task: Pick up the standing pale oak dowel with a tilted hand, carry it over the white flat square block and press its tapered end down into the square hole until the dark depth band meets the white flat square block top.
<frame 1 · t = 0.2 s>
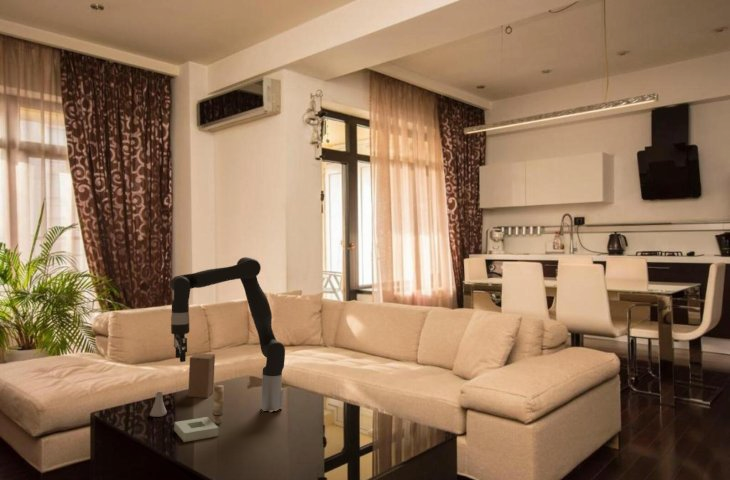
hand: (180, 359, 236), 28 cm above the table, tool pointing down, fingers open, 8 cm apart
wooden block: (200, 395, 278), on the table
flask: (158, 415, 247), on the table
white flat square block: (196, 433, 227), on the table
peg: (217, 422, 241), on the table
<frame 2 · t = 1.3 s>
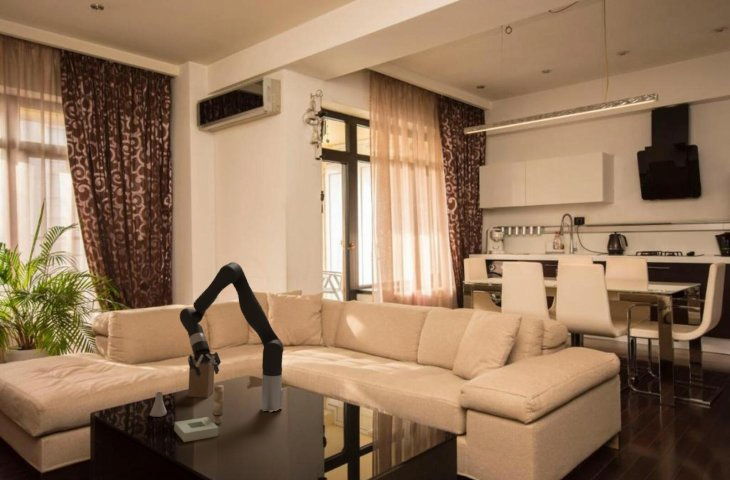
hand: (208, 374, 249), 19 cm above the table, tool tilted 45°, fingers open, 8 cm apart
nothing on the table moved.
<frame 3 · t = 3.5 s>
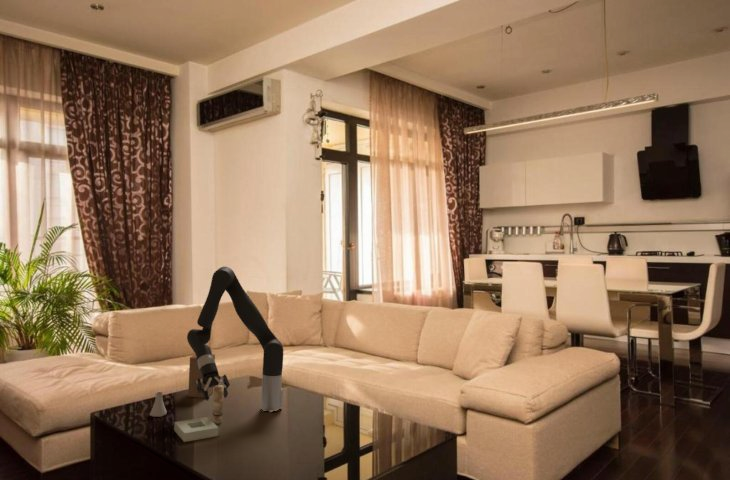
hand: (217, 398, 242), 10 cm above the table, tool tilted 45°, fingers open, 8 cm apart
nothing on the table moved.
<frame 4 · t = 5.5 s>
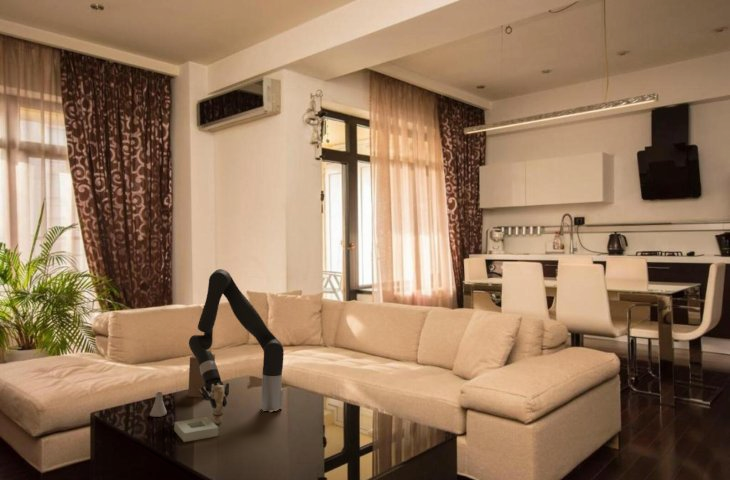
hand: (220, 406, 239), 8 cm above the table, tool tilted 45°, fingers closed on peg, 4 cm apart
peg: (217, 422, 241), on the table, touching gripper
everything else where it was.
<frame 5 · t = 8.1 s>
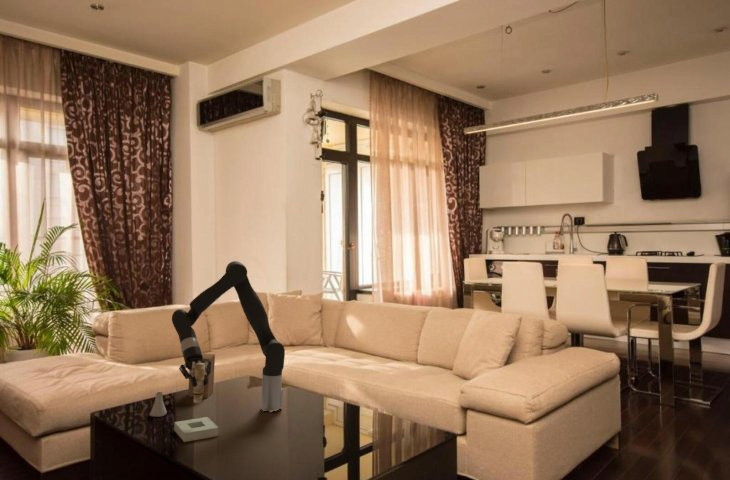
hand: (200, 385, 227), 20 cm above the table, tool tilted 45°, fingers closed on peg, 4 cm apart
peg: (197, 401, 228), point 13 cm above the table, touching gripper
everything else where it was.
when the fingers open (8 cm above the table, at t = 10.8 s): peg stays where it is, resting in white flat square block.
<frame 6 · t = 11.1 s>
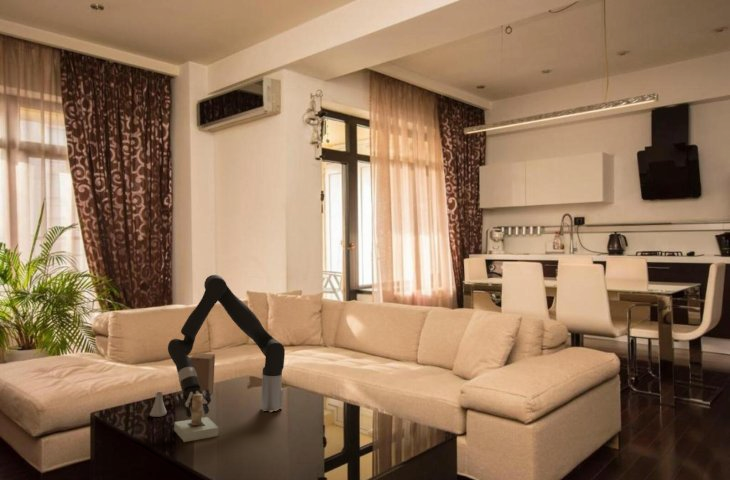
hand: (198, 414, 226), 8 cm above the table, tool tilted 45°, fingers open, 6 cm apart
peg: (195, 432, 228), resting in white flat square block
everything else where it was.
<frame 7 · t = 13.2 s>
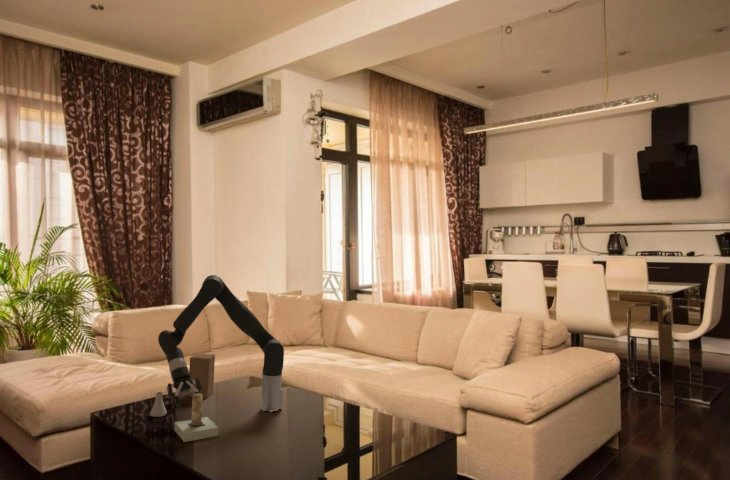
hand: (188, 403, 236), 9 cm above the table, tool tilted 40°, fingers open, 8 cm apart
nothing on the table moved.
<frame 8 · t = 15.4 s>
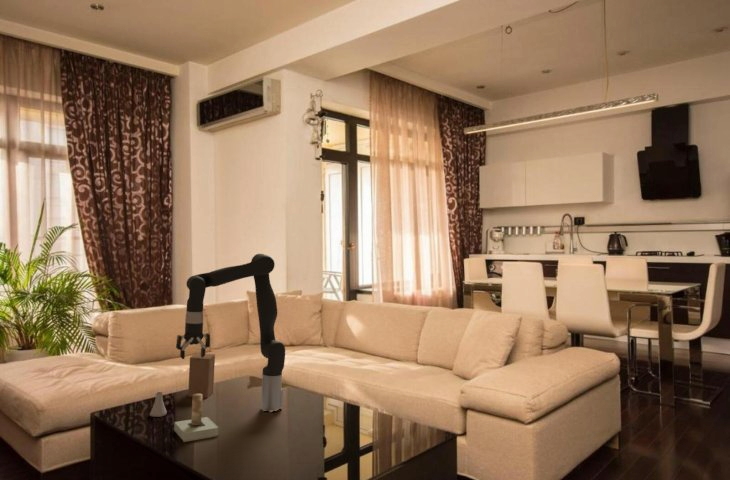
hand: (192, 357, 240), 28 cm above the table, tool pointing down, fingers open, 8 cm apart
nothing on the table moved.
at the end: peg 0.1 cm off-centre on the white flat square block, point 0.0 cm above the white flat square block's base; peg tilted 0°; the gripper is holding nothing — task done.
